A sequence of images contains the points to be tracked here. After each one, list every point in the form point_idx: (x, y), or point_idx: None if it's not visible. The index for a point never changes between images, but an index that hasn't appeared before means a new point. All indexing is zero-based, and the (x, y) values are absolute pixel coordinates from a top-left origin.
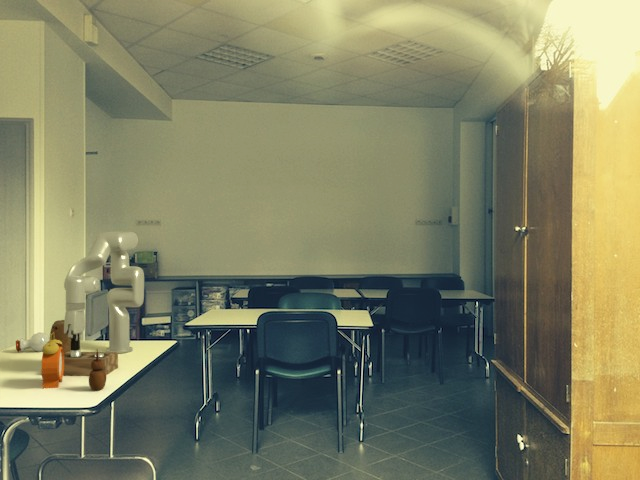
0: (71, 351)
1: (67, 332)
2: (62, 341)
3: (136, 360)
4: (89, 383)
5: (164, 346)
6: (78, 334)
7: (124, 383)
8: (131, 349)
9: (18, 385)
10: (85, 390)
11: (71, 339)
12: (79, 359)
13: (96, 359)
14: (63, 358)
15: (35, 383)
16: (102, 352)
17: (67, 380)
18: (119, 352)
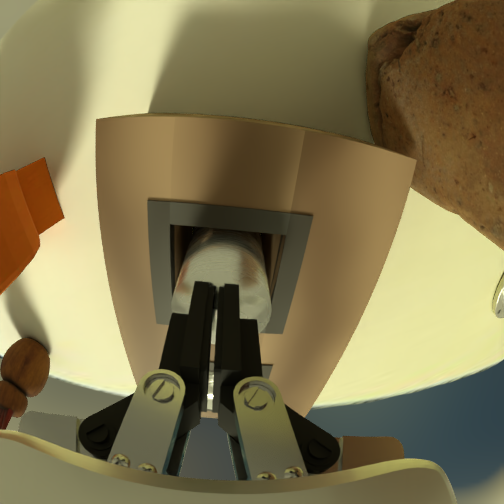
0: (178, 284)
1: (70, 484)
2: (493, 124)
3: (386, 371)
4: (10, 347)
5: (489, 358)
6: (238, 480)
7: (98, 390)
8: (499, 317)
9: (8, 69)
10: (18, 323)
11: (122, 404)
12: (120, 324)
13: (5, 409)
14: (6, 282)
15: (23, 118)
16: (306, 383)
17: (72, 238)
18: (496, 295)
